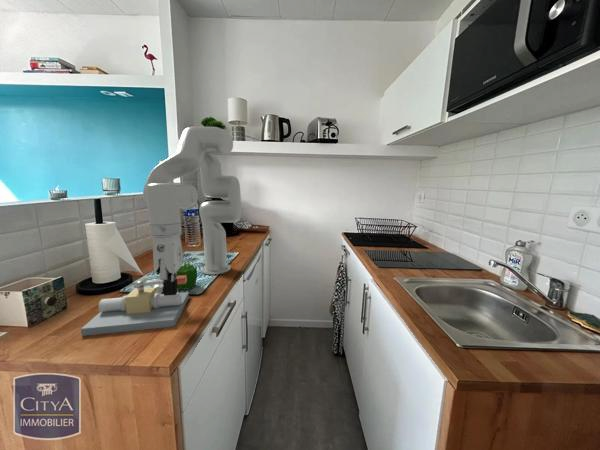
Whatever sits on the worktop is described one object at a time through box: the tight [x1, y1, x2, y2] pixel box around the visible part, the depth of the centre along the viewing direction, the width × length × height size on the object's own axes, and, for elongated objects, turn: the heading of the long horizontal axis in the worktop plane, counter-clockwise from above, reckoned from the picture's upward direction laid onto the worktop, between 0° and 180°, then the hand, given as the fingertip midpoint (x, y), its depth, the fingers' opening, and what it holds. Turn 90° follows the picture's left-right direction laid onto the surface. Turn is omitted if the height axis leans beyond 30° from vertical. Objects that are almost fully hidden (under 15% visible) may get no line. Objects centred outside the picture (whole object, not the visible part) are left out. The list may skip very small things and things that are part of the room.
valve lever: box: [133, 275, 187, 292], centre depth 75 cm, size 14×3×3 cm, turn 106°
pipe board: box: [80, 287, 190, 337], centre depth 74 cm, size 18×22×7 cm
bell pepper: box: [177, 262, 198, 291], centre depth 93 cm, size 8×8×10 cm
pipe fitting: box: [149, 278, 164, 294], centre depth 90 cm, size 8×4×7 cm
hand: (171, 293), depth 69 cm, fingers closed
